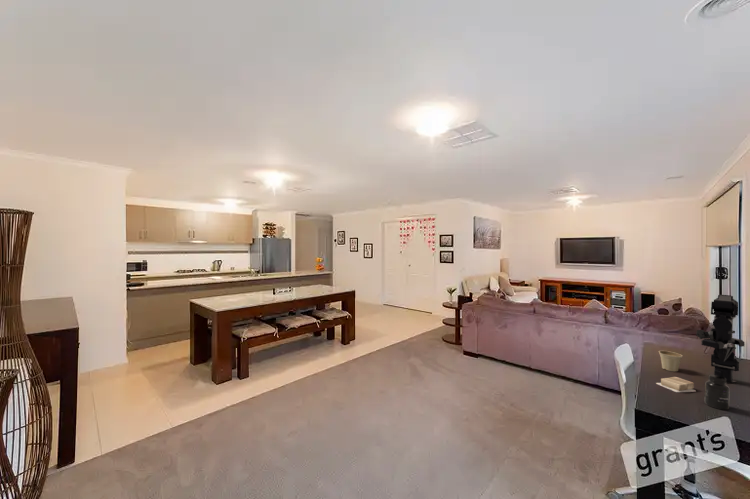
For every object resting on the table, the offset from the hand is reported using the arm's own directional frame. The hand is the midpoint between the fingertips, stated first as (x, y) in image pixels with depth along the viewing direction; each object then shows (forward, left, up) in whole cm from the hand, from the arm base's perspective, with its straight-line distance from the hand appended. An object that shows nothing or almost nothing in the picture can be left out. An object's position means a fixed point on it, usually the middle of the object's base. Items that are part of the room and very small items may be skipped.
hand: (722, 361), depth 144 cm
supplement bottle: (+22, +13, -13) cm, 29 cm away
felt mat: (+20, -4, -13) cm, 24 cm away
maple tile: (+14, -5, -11) cm, 19 cm away
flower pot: (-2, -24, -13) cm, 27 cm away
